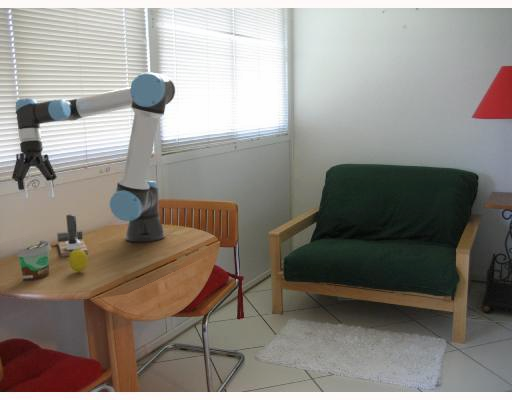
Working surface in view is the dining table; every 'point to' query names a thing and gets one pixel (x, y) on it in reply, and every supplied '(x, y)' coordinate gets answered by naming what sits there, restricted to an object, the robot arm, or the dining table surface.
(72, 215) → the press handle
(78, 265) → the lemon
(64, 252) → the press bench
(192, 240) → the dining table surface
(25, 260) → the food container
